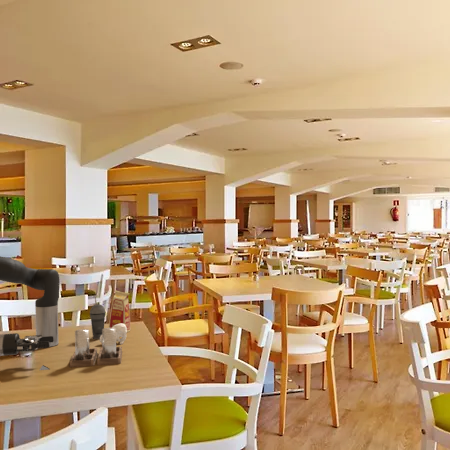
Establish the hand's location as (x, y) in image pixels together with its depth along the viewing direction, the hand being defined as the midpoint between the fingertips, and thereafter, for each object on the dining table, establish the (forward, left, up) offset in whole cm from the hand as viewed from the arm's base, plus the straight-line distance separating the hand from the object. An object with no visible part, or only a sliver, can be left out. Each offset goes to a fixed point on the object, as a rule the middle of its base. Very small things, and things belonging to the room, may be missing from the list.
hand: (51, 341), depth 177 cm
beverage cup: (-33, +34, -10) cm, 48 cm away
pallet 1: (+2, +12, -10) cm, 15 cm away
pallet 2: (+6, +20, -10) cm, 23 cm away
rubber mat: (0, +1, -10) cm, 10 cm away
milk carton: (-39, +49, -10) cm, 63 cm away
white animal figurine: (-18, +34, -10) cm, 39 cm away
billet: (+10, +18, -9) cm, 22 cm away
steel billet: (+5, +9, -9) cm, 14 cm away
